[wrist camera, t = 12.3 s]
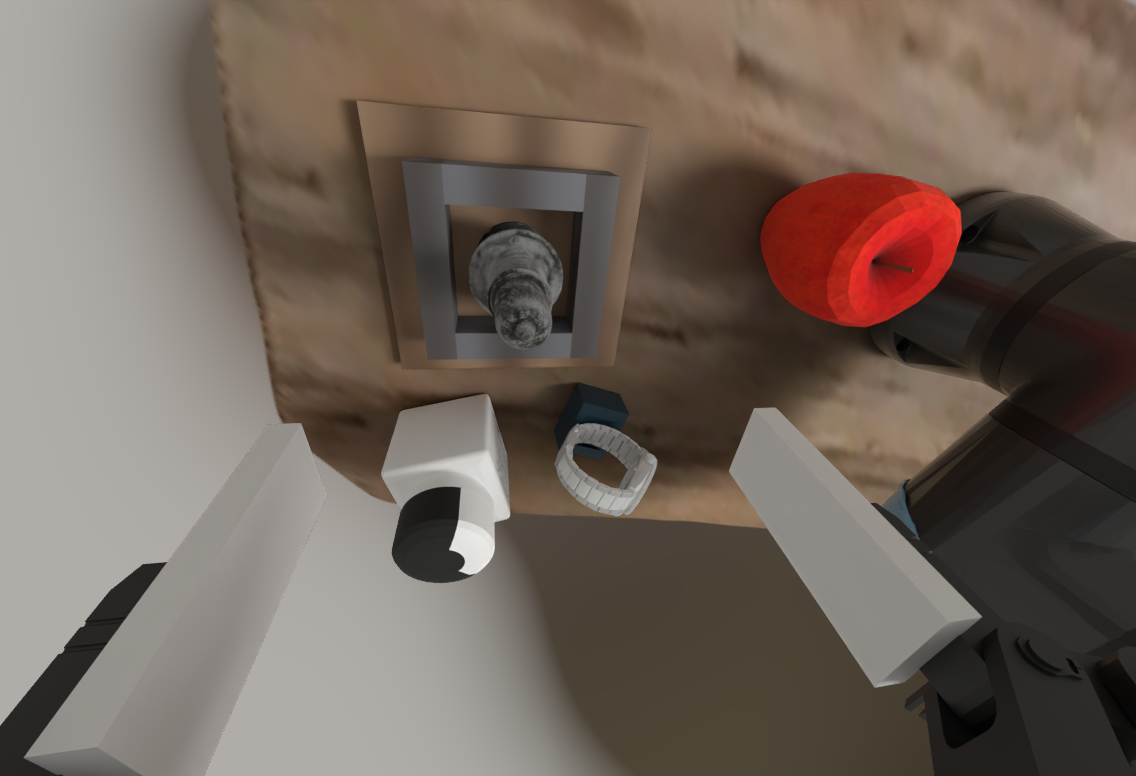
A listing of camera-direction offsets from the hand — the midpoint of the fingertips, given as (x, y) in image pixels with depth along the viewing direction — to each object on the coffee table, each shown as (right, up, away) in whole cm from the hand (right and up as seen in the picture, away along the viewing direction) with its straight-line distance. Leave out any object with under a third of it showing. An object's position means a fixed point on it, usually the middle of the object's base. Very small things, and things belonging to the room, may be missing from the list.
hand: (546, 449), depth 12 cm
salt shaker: (-3, +11, +16) cm, 20 cm away
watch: (+2, 0, +26) cm, 26 cm away
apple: (+18, +14, +19) cm, 29 cm away
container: (-9, -2, +25) cm, 27 cm away
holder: (-3, +11, +17) cm, 20 cm away
